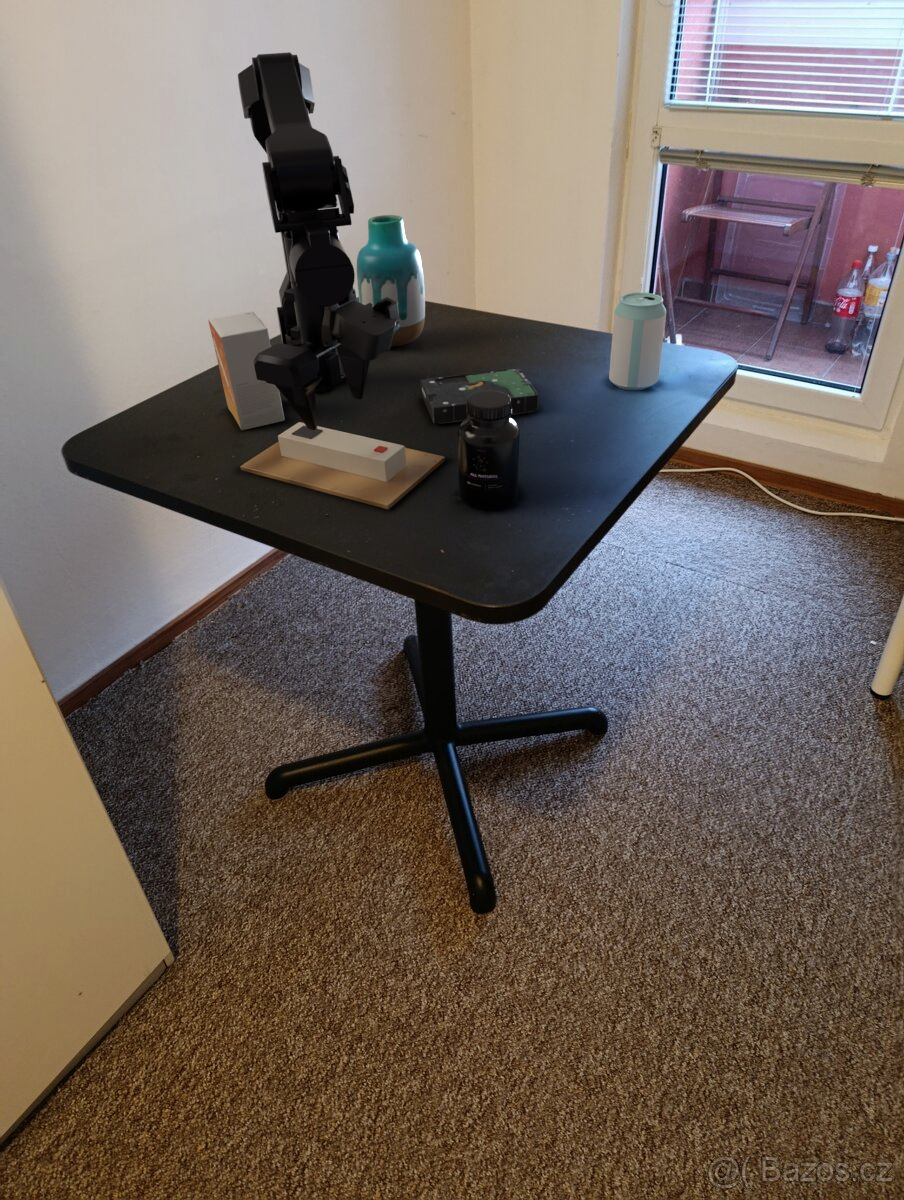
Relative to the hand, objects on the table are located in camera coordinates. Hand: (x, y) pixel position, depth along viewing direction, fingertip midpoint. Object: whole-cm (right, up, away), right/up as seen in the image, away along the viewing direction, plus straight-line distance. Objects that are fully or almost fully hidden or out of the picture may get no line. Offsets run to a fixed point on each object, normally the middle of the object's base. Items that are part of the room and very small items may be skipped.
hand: (336, 413), depth 96 cm
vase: (+5, +20, +38) cm, 43 cm away
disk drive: (+18, +5, +17) cm, 25 cm away
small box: (-14, +4, +17) cm, 23 cm away
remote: (0, -5, +4) cm, 6 cm away
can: (+40, +9, +21) cm, 46 cm away
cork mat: (0, -6, +4) cm, 7 cm away
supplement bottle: (+18, -11, -3) cm, 21 cm away
